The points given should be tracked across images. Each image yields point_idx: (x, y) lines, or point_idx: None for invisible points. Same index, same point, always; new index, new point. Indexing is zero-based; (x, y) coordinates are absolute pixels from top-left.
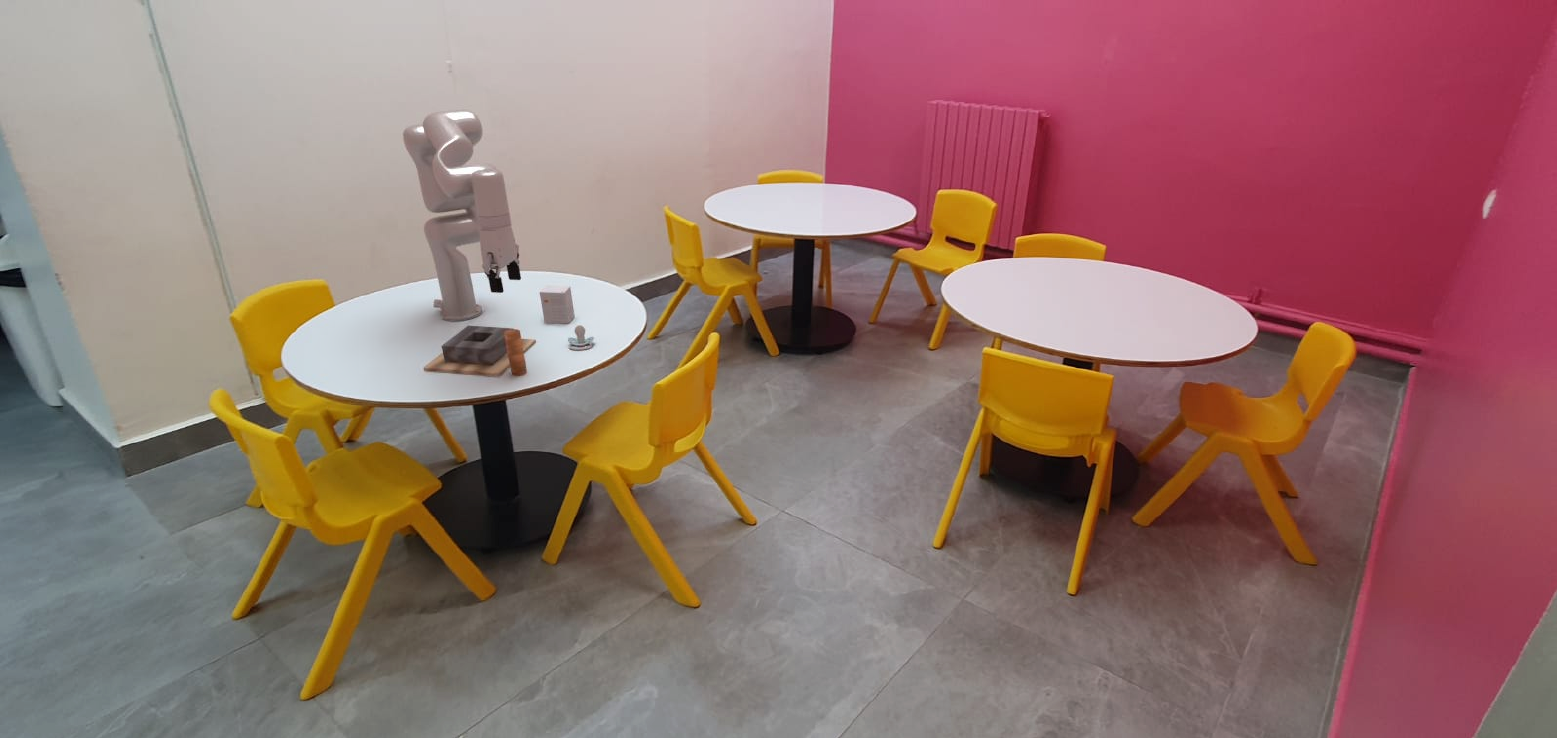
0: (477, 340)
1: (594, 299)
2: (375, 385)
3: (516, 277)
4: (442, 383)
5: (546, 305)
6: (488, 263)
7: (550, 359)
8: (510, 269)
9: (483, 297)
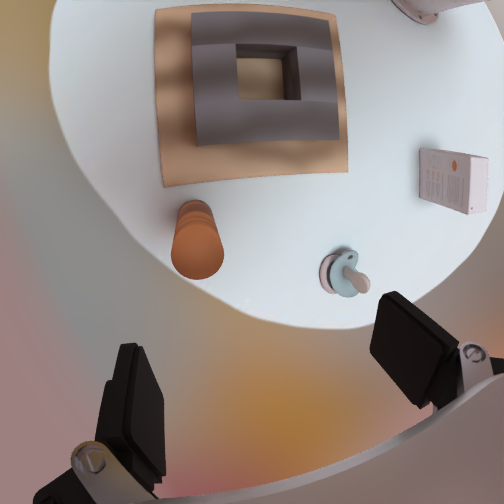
0: (288, 58)
1: None
2: None
3: (379, 347)
4: (106, 85)
5: (447, 163)
6: None
7: (273, 245)
8: (418, 355)
9: (458, 20)
